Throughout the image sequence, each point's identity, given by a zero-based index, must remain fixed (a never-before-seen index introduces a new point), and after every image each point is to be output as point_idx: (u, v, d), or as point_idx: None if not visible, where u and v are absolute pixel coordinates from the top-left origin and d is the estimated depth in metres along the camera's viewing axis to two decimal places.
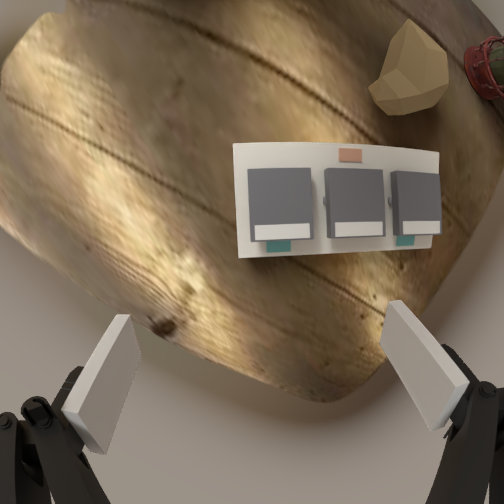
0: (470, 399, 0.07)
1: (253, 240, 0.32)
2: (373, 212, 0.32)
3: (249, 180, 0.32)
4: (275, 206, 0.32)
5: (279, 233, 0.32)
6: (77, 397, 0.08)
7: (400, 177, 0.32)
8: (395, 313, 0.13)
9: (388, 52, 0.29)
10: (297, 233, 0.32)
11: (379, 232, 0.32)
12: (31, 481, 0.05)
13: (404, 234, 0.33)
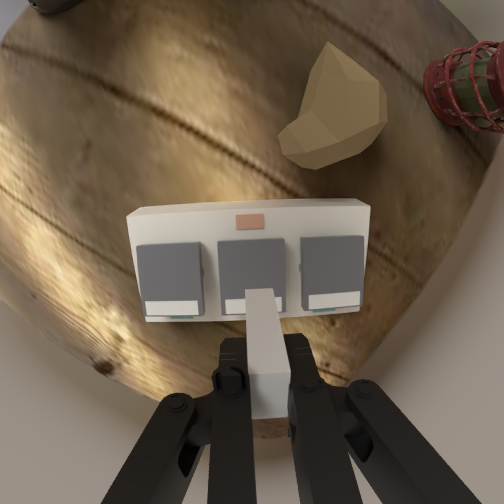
0: (293, 400, 0.09)
1: (145, 315, 0.31)
2: None
3: (138, 257, 0.31)
4: (163, 283, 0.31)
5: (167, 309, 0.31)
6: (258, 360, 0.10)
7: (308, 245, 0.31)
8: (259, 300, 0.15)
9: (307, 86, 0.28)
10: (185, 310, 0.31)
11: (277, 308, 0.32)
12: (179, 473, 0.07)
13: (310, 309, 0.32)
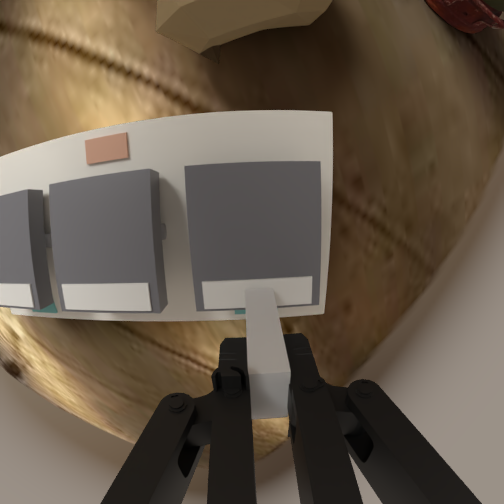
0: (293, 400, 0.09)
1: None
2: (127, 264, 0.15)
3: None
4: None
5: (2, 296, 0.15)
6: (258, 360, 0.10)
7: (195, 180, 0.15)
8: (259, 300, 0.15)
9: None
10: (19, 299, 0.15)
11: (143, 305, 0.16)
12: (178, 473, 0.07)
13: (207, 308, 0.16)
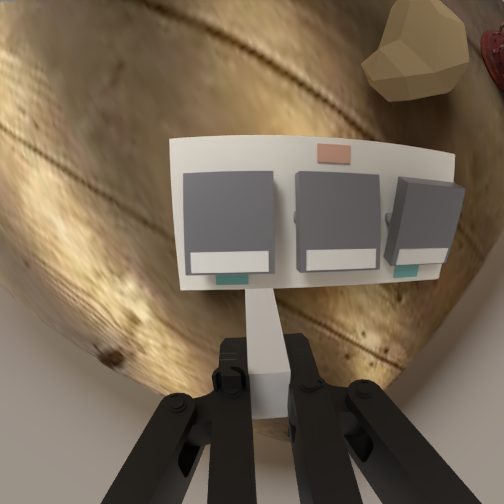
0: (293, 399, 0.09)
1: (189, 273, 0.23)
2: (363, 236, 0.23)
3: (185, 189, 0.22)
4: (219, 226, 0.23)
5: (224, 264, 0.23)
6: (258, 360, 0.10)
7: (411, 192, 0.22)
8: (259, 300, 0.15)
9: (388, 22, 0.20)
10: (250, 265, 0.23)
11: (371, 264, 0.23)
12: (178, 473, 0.07)
13: (397, 264, 0.25)
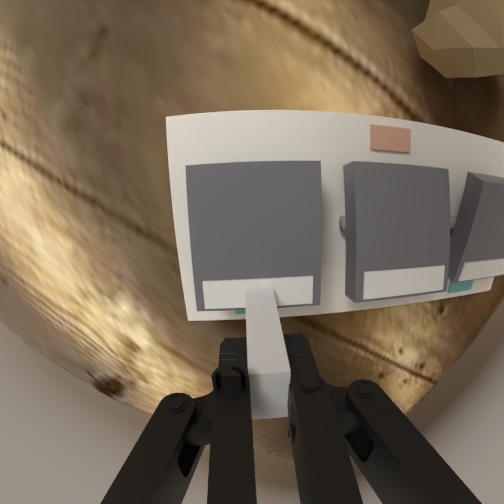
0: (293, 399, 0.09)
1: (201, 308, 0.16)
2: (431, 250, 0.16)
3: (189, 189, 0.15)
4: (243, 243, 0.16)
5: None
6: (258, 360, 0.10)
7: (485, 193, 0.14)
8: (259, 300, 0.15)
9: None
10: (288, 296, 0.16)
11: (438, 285, 0.16)
12: (178, 473, 0.07)
13: (460, 280, 0.18)
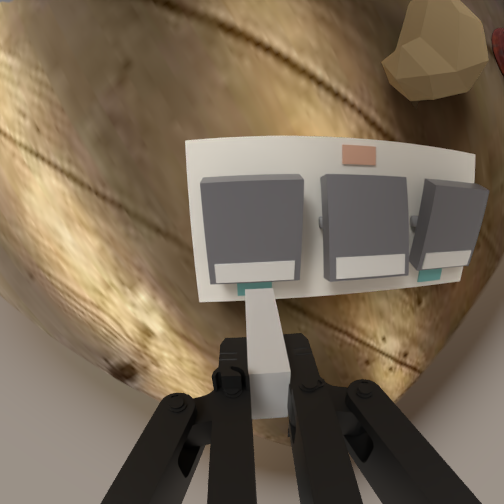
0: (293, 400, 0.09)
1: (214, 282, 0.23)
2: (392, 241, 0.21)
3: (203, 201, 0.20)
4: (244, 238, 0.21)
5: (249, 274, 0.23)
6: (258, 360, 0.10)
7: (439, 195, 0.20)
8: (259, 300, 0.15)
9: (406, 19, 0.19)
10: (276, 274, 0.23)
11: (400, 270, 0.22)
12: (179, 473, 0.07)
13: (423, 269, 0.23)
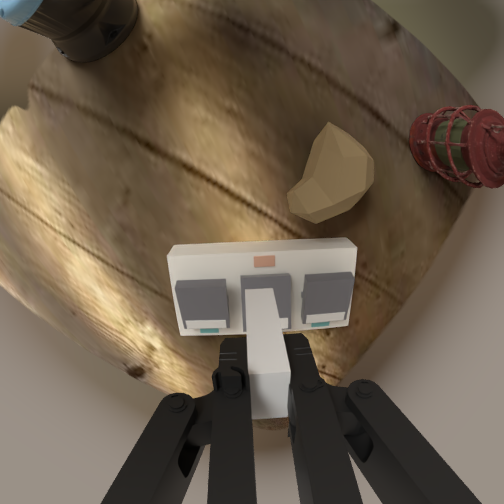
0: (293, 400, 0.09)
1: (186, 328, 0.43)
2: (279, 311, 0.42)
3: (177, 295, 0.40)
4: (199, 310, 0.42)
5: (203, 325, 0.43)
6: (258, 360, 0.10)
7: (310, 286, 0.40)
8: (259, 300, 0.15)
9: (310, 154, 0.39)
10: (217, 325, 0.43)
11: (285, 326, 0.42)
12: (179, 473, 0.07)
13: (307, 323, 0.44)
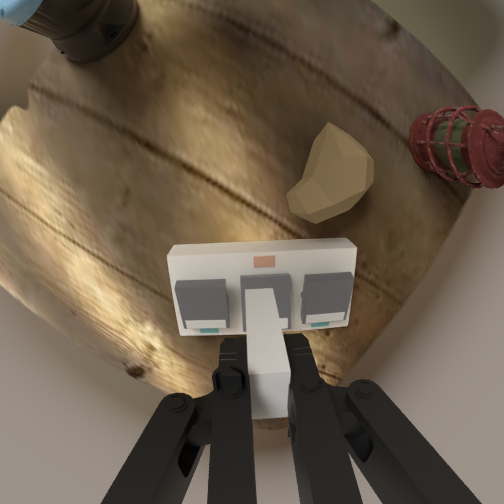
0: (293, 400, 0.09)
1: (185, 328, 0.44)
2: (279, 311, 0.42)
3: (177, 295, 0.40)
4: (198, 310, 0.42)
5: (203, 325, 0.43)
6: (258, 360, 0.10)
7: (310, 286, 0.40)
8: (259, 300, 0.15)
9: (310, 154, 0.39)
10: (216, 325, 0.43)
11: (284, 326, 0.42)
12: (179, 473, 0.07)
13: (306, 323, 0.44)
